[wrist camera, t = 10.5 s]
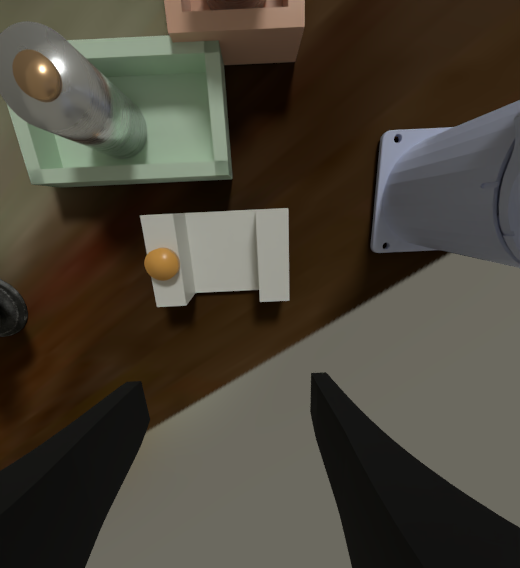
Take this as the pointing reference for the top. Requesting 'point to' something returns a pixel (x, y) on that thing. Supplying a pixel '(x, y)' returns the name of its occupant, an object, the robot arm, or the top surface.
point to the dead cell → (234, 4)
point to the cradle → (217, 254)
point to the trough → (157, 112)
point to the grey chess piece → (11, 310)
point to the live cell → (66, 92)
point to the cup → (241, 29)
